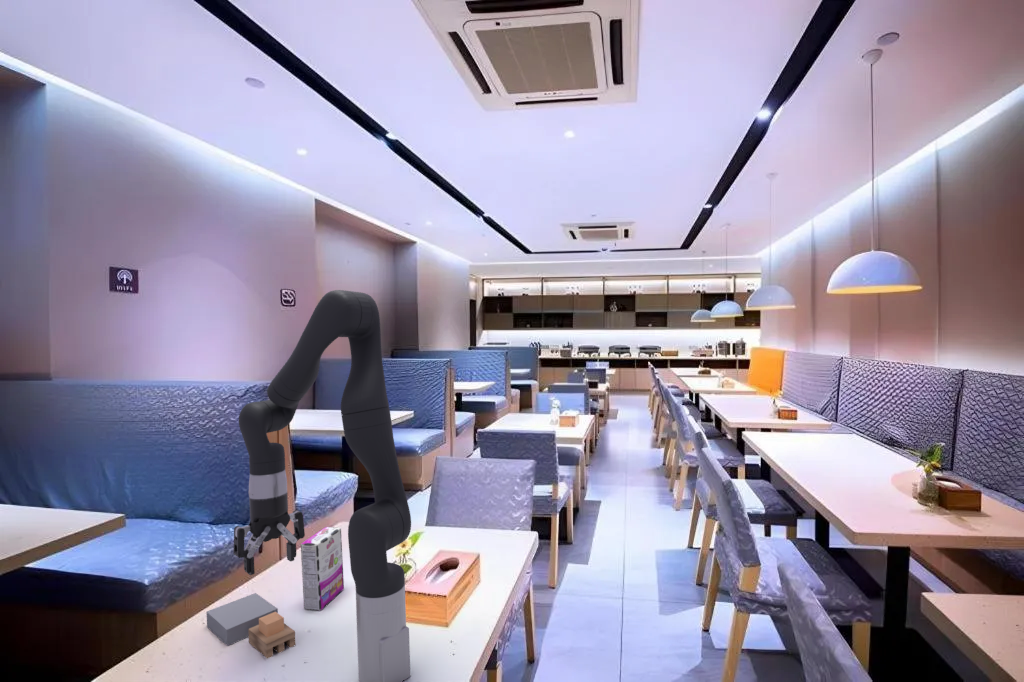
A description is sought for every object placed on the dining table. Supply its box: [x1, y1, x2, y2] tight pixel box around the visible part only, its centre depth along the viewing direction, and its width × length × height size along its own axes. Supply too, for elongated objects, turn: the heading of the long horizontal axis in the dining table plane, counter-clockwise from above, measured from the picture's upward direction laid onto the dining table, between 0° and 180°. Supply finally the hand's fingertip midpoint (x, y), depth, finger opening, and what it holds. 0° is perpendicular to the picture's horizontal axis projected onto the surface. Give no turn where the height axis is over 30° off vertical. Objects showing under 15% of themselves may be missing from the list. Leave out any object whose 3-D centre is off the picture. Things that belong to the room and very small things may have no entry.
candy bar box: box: [300, 526, 345, 611], centre depth 131 cm, size 11×5×16 cm, turn 168°
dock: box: [206, 592, 279, 646], centre depth 120 cm, size 12×11×4 cm
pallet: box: [248, 622, 296, 659], centre depth 112 cm, size 9×6×3 cm, turn 49°
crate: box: [259, 612, 285, 637], centre depth 112 cm, size 4×4×3 cm
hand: (271, 566), depth 113 cm, fingers open, 8 cm apart
